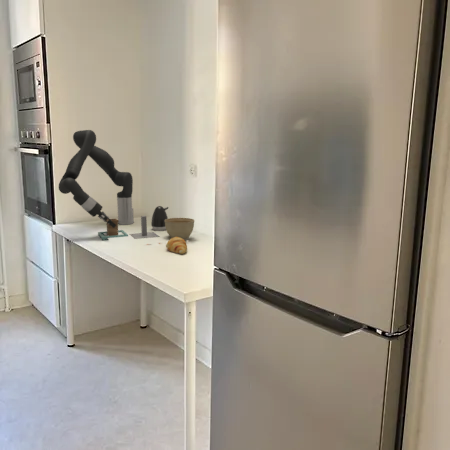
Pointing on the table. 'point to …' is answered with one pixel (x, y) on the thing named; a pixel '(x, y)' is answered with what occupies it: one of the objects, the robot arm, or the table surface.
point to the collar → (110, 229)
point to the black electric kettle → (159, 218)
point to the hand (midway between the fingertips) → (113, 225)
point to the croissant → (177, 245)
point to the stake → (144, 230)
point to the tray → (110, 236)
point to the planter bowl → (179, 227)
